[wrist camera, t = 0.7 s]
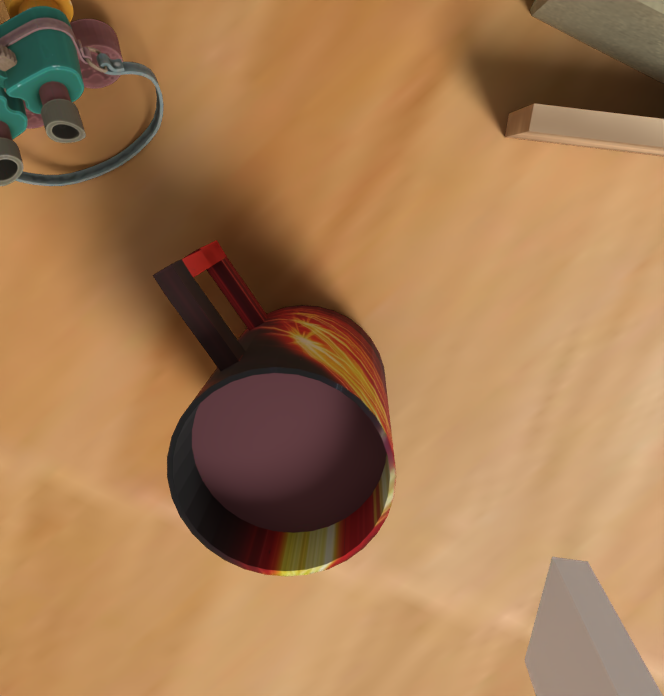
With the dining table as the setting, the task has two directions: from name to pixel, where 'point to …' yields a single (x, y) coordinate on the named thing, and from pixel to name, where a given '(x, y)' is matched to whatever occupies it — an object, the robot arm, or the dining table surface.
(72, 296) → the dining table surface
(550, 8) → the tissue box
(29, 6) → the binoculars
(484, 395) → the dining table surface
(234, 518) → the mug
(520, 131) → the bay
